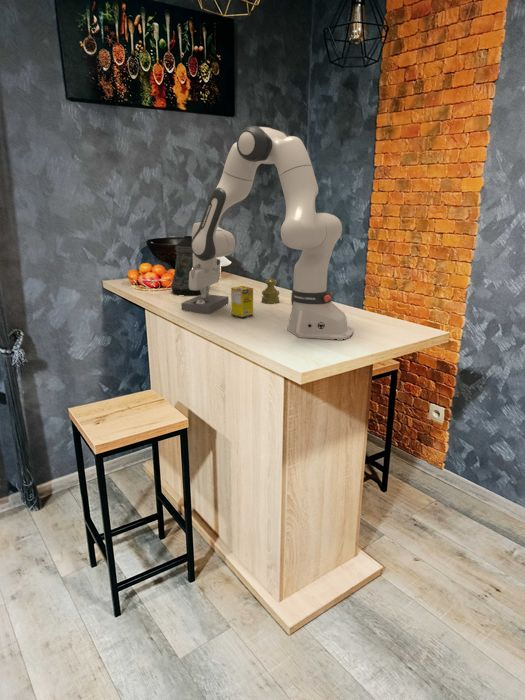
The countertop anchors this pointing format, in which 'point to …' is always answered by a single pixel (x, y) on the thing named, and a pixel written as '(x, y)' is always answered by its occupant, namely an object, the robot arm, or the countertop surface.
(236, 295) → the supplement box
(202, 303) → the steel ball
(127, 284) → the countertop surface
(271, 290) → the olive tiered figure
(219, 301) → the hole board
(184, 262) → the beer stein
